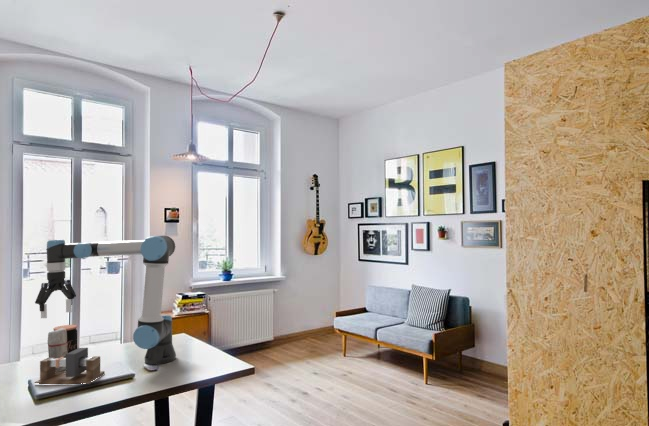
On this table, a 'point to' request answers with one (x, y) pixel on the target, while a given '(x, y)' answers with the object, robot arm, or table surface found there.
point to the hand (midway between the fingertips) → (56, 315)
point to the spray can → (58, 345)
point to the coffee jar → (70, 336)
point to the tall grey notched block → (75, 362)
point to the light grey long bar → (62, 362)
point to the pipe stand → (53, 377)
